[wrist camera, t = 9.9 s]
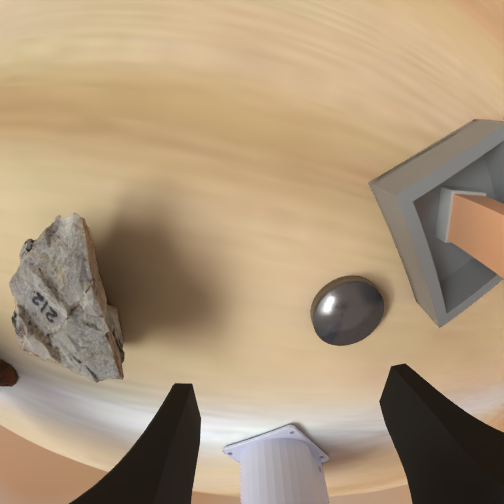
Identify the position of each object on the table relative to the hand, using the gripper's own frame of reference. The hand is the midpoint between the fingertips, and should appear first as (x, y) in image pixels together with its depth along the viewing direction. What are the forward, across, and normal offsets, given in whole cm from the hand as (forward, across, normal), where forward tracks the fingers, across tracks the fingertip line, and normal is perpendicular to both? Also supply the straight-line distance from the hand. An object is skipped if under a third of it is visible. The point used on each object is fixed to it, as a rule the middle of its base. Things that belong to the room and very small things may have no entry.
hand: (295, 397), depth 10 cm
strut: (+9, -13, -4) cm, 16 cm away
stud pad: (+10, -5, +3) cm, 11 cm away
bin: (+10, -13, -4) cm, 17 cm away
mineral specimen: (+10, +12, 0) cm, 16 cm away
